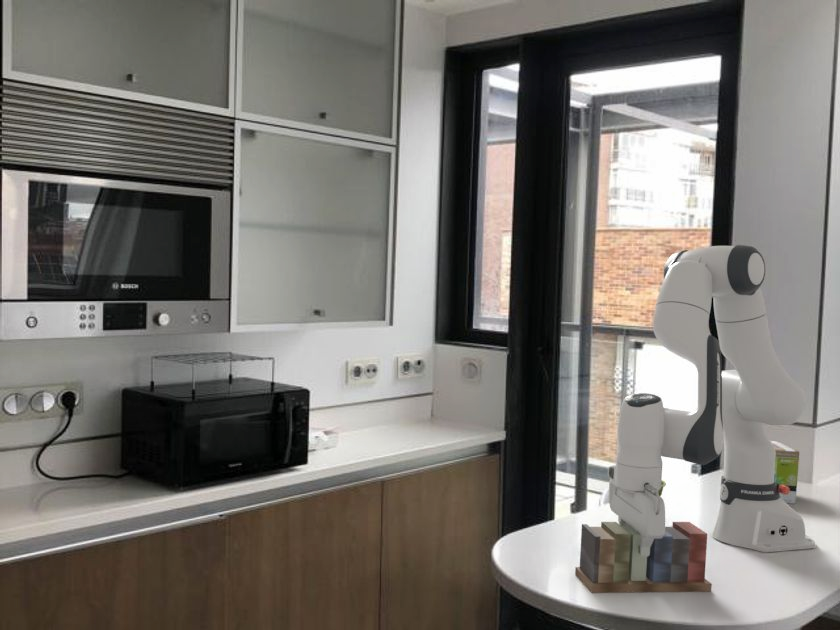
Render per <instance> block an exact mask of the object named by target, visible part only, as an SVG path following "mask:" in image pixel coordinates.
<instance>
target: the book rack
mask: <svg viewBox="0 0 840 630" xmlns="http://www.w3.org/2000/svg"><path fill="white" fill-rule="evenodd" d="M630 540H631V534H630V533H629V532H628V531H627V530H625V529H624V528H623V527H622V526H620V525H619V522H617V521H601V523H600V526H589V524H587V523H585V524H584V523H582V524H581V537H580V553H579V554H580V558H579V566H575V570H574V573H575V574H574V575H576V577H577V578H578V579H579V581H580V582H581V583H582V584H583V585H584V586H585V588H587V589H588V590H589V592H590V593H595V594H599V593H601V594H602V593H607V594H608V593H609V594H611V593H612V594H613V593H681V592H683V593H686V592H687V593H688V592H689V593H692V592H695V593H697V592H698V593H699V592H702V593H703V592H712V585H713V584H712V583H711V582H710V581H709V580H708V579H706V577H705V575H706V562H707V561H706V560H707V559H706V558H707V547H708V546H707V544H708V533H707V532H705V531H704V530H702V529H701V528H700V527H698V526H696V525H695V524H694V523H692V522H691V521H672V525H671V526H665V534H664V536H663V538H661V539H654V541H653V543H652V545H651V547H650V555H649V556H647V568H646V581H631V580H630V579H629V578H628V575H629V558H630Z"/></svg>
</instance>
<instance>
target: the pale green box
mask: <svg viewBox="0 0 840 630" xmlns="http://www.w3.org/2000/svg"><path fill="white" fill-rule="evenodd" d="M622 527H623V528H624V529H625V530H627V531H628V532H629V533H630V534H631V540H630V558H629V575H628V578H629V579H630V580H631V581H646V568H647V556H641V555H640V554H639V553H638V545H640V544H641V540H642V539H641V537H640V536H641V534H640V533H639V532H638V531H637V530H635V529H634V528H633V527H632V526H622Z"/></svg>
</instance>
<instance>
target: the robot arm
mask: <svg viewBox="0 0 840 630" xmlns="http://www.w3.org/2000/svg"><path fill="white" fill-rule="evenodd" d="M765 278H766V263H765V260H764V257H763V256H762V254H761V253H760V251H758V249H757V248H756V247H754V246H752V245H745V244H736V245H735V246H734V245H712V246H708V247H701V248H696V249H690V250H689V249H684V250H680V251H677V252H675V253H673V254H671V255H670V257H669V258H668V259H667V260H666V262H665V264H664V266H663V281H662V283H661V285H660V286H661V287H660V289H659V292H658V295H657V298H656V299H657V300H656V304H655V308H654V313H653V319H652V330H653V334H654V336H655V338H656V340H657V341H658V343H660V344H661V345H662V347H664V348H665V349H666V350H667V351H670V352H671V353H673V354H675V355H676V356H678V357H680V358H682V359H684V360H687V361H688V362H690V363H692V364H693V365H694V366H695V367H696V369H697V408H696V410H694V411H686V410H680V409H673V408H672V409H671V408H667V407H664V404H663V403H664V402H663V400H662V398H661V397H660V396H658V395H656V394H654V393H653V394H651V393H644V392H643V393H641V392H640V393H633V394H630V395H627V396H625V397H624V398H623V400H622V402H621V407H620V411H619V416H618V423H617V424H618V425H617V436H616V440H617V446H618V452H617V455H616V458H615V464H614V465H610V466H609V465H608V468H607V477H608V478H610V479H609V480H608V481H609V483H608V502H609V508H610V511H611V512H613V513H614V514H615V515H616V516H618V519H617V521H618V522H617V523H618V524H619V525H620V526H632V527H633V528H634V529H635V530H637V531H638V532H639V533H640V534H641V536H640V537H641V539H642V540H641V544H640V545H638V553H639V554H640V555H641V556H649V555H650V547H651V545H652V543H653V541H654V539H661V538H663V536H664V534H665V527H666V506H665V502H664V499H663V498H662V497H661V496H659V494H658V493H659V491H658V490H660V489H661V480H663V479H662V476H663V460H662V457H664V458H668V459H669V458H670V459H676V460H682V461H685V462H688V463H692V464H695V465H700V466H705V465H708V464H709V463H711V462H713V461H715V460H716V459H718V457H720V456H721V455H722V452H724V454H723V473H722V474H723V475H721V478H720V479H721V480H720V489H719V500H720V506H719V510H718V515H717V518H716V522H715V526H714V529H713V531H712V533H711V534H712V537H713V538H715V540H717V541H720V542H723V543H725V544H727V545H732V546H736V547H741V548H746V549H751V550H755V551H758V552H762V553H771V552H783V551H794V550H795V551H797V550H807V549H808V550H809V549H815V548H816V542H815V540H814V539H813V538H811V537H810V536H808V535H807V534H806V527H805V522H804V519H803V517H802V516H801V515H800V514H799V513H798V512H797V511H796V510H795V509H794V508H792V507H791V506H790V505H789V503H785V502H784V501H783V500H782V499H781V498H780V494H779V492H780V493H782V494H784V495H788V493H790V492H789V491H790V490H788V489H790V488H789V487H788V486H785V485H779V484H778V483H776V482H775V481H774V472H775V457H776V451H775V448H774V445H773V444H772V443H771V441H772V440H770V439H769V438H768V436H767V434H766V433H765V430H764V428H763V424H765V425H769V426H787V425H788V426H790V425H793V424H795V423H796V422H798V421H799V420H800V418H801V417H802V416H803V414H804V412H805V410H806V403H807V402H806V401H807V400H806V399H807V398H806V395H805V392H804V389H803V388H802V387H801V386H800V384H798V383H796V381H794V380H793V379H792V378H791V376H790V375H789V374H788V372H787V371H786V370H785V368H784V367H783V364H782V363H781V361H780V359H779V357H778V354H777V353H776V351H775V348H774V345H773V341H772V338H771V337H772V336H771V332H770V326H769V322H768V315H767V314H768V313H767V307H766V303H765V298H764V296H763V292H762V288H761V286H762V284H763V283H764V280H765ZM712 299H713V301H712ZM712 302H713V312H714V319H715V325H716V331H717V337H718V338H716V337H715V336H713V335H712V333H711V330H710V322H709V321H710V314H711V308H712ZM722 355H723V357H725V358H726V359H727V360H728V361H729V362H730V364H731V365H732V366H733V367H734V369H726V370H723V365H722V364H723V362H722V361H723V360H722V359H723V358H722ZM723 449H724V451H723Z"/></svg>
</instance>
